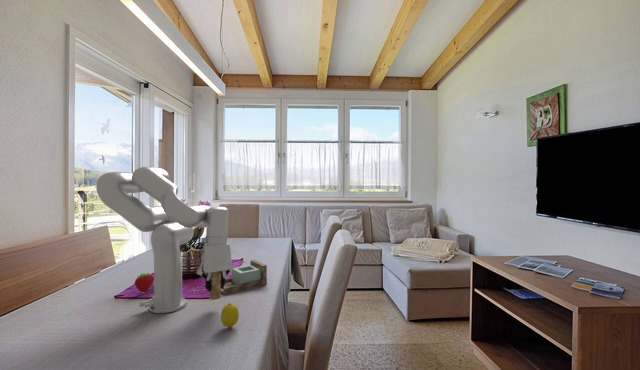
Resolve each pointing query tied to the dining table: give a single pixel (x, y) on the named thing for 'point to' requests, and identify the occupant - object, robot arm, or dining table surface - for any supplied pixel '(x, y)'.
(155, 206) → the robot arm
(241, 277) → the socket block
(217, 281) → the oak dowel
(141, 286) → the strawberry
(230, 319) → the lemon
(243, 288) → the track board
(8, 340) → the dining table surface
